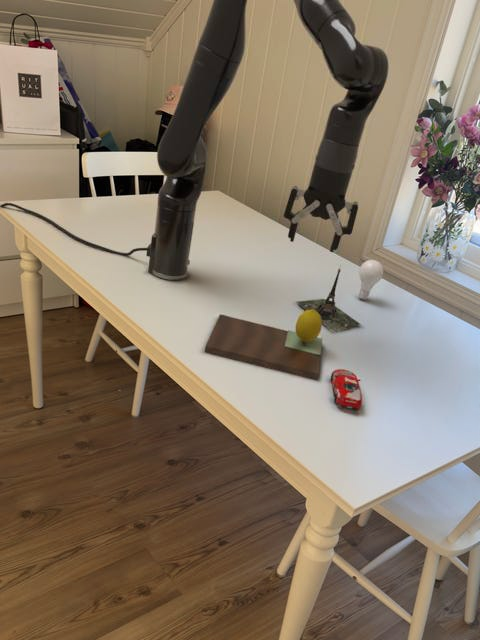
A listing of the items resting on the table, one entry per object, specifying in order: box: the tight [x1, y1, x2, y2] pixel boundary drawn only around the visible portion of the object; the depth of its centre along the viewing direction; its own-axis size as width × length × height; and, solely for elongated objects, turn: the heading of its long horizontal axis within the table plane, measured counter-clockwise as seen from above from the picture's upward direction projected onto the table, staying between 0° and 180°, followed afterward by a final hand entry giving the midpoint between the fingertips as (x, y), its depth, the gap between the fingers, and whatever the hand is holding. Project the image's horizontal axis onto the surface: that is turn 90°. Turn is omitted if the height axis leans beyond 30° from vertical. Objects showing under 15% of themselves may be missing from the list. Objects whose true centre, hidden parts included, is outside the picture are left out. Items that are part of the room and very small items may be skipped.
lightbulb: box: [357, 259, 385, 301], centre depth 161 cm, size 6×6×11 cm
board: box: [204, 314, 323, 381], centre depth 131 cm, size 24×16×2 cm, turn 81°
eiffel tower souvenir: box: [296, 265, 362, 333], centre depth 147 cm, size 15×10×13 cm
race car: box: [330, 368, 363, 411], centre depth 121 cm, size 13×5×4 cm, turn 177°
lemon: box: [295, 309, 323, 342], centre depth 131 cm, size 6×6×8 cm
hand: (311, 245), depth 125 cm, fingers open, 8 cm apart
